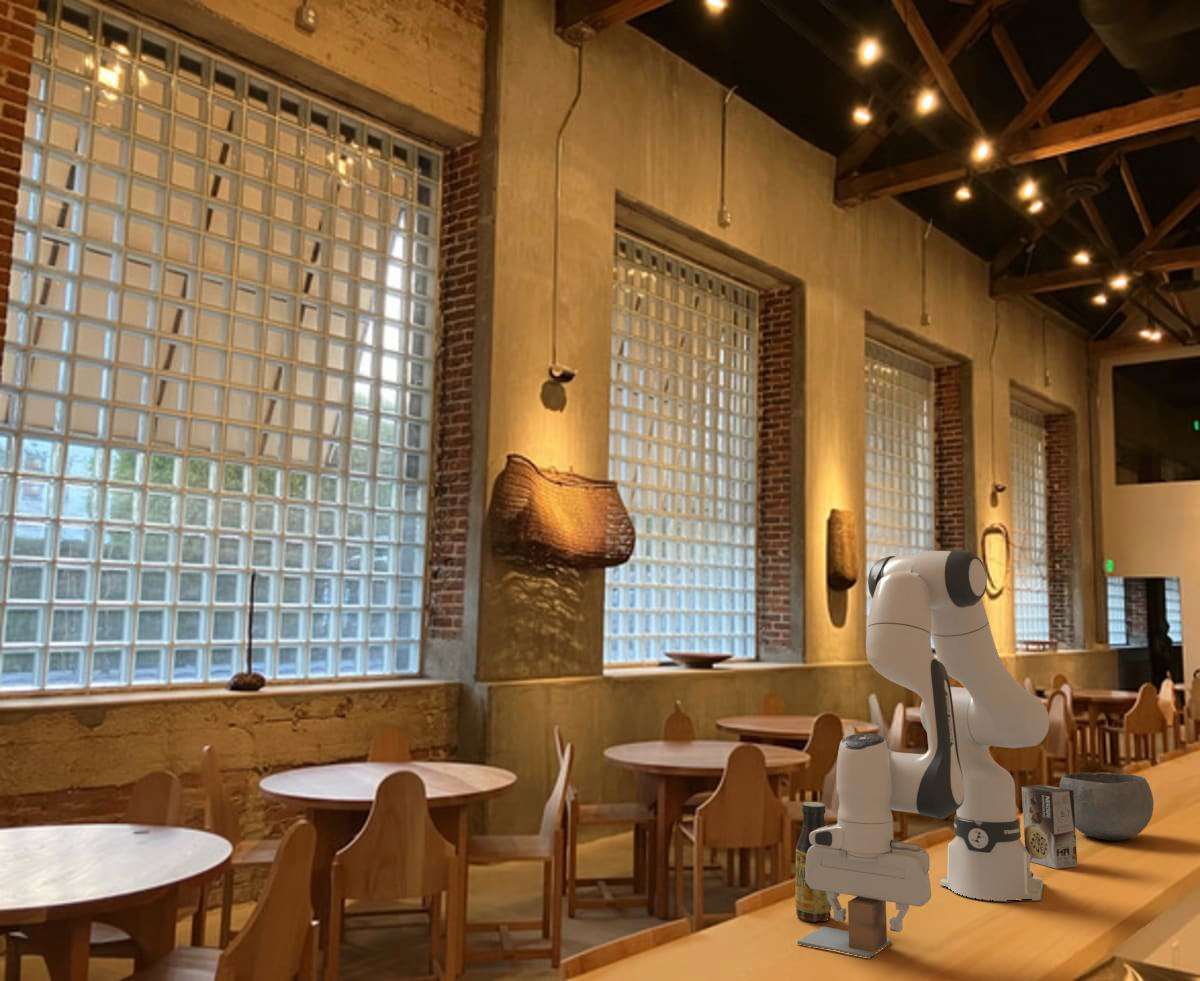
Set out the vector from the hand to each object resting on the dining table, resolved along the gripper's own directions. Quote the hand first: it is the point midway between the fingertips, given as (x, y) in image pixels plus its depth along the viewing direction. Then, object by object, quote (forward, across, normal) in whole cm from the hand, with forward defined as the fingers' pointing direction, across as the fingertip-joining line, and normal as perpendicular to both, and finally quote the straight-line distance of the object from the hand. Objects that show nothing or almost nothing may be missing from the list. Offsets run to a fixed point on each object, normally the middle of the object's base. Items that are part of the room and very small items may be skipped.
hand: (867, 925), depth 167 cm
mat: (+4, +4, 0) cm, 5 cm away
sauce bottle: (+4, +14, -10) cm, 18 cm away
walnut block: (+3, 0, 0) cm, 3 cm away
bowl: (+4, -15, -116) cm, 117 cm away
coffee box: (+4, -10, -80) cm, 81 cm away
